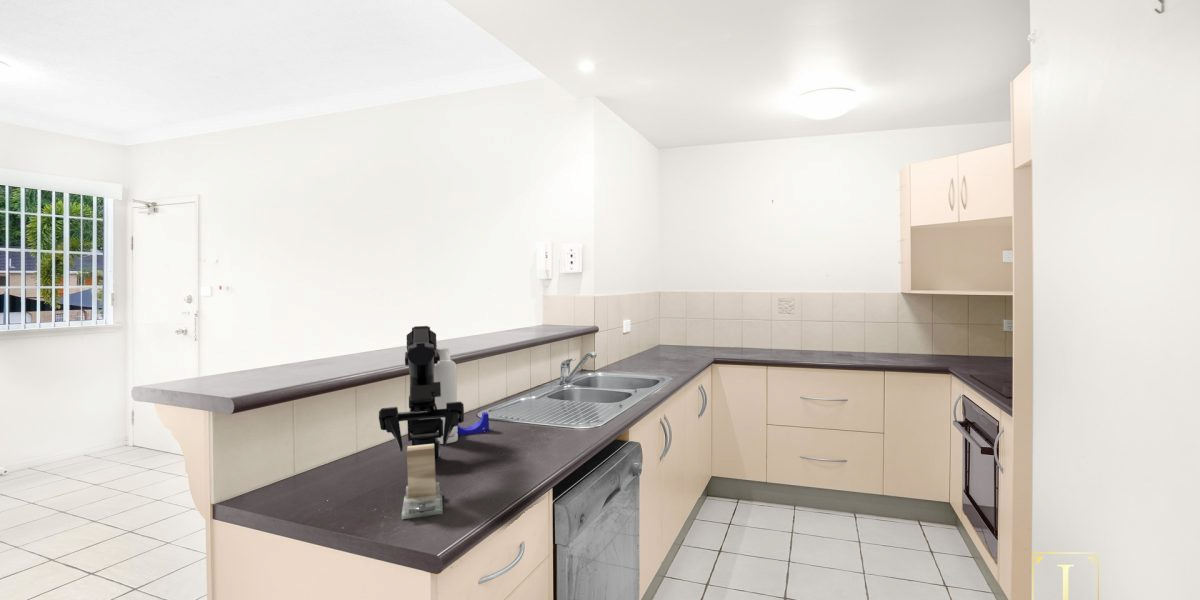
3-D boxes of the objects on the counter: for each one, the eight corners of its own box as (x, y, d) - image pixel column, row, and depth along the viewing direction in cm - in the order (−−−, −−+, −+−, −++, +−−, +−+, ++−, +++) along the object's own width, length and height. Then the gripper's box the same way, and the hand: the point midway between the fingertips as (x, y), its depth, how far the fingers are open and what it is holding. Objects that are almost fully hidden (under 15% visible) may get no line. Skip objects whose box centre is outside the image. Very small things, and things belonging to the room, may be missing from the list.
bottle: (437, 436, 173) (435, 347, 173) (462, 437, 172) (460, 347, 172) (425, 443, 165) (423, 350, 165) (451, 444, 164) (449, 349, 164)
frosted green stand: (404, 499, 123) (403, 485, 123) (442, 494, 125) (441, 480, 125) (401, 523, 110) (400, 507, 110) (442, 517, 113) (442, 501, 113)
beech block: (409, 501, 119) (407, 446, 119) (436, 497, 121) (434, 443, 121) (408, 507, 116) (406, 451, 116) (436, 504, 118) (434, 448, 117)
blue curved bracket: (486, 429, 182) (486, 411, 181) (489, 432, 177) (488, 414, 177) (448, 433, 177) (448, 415, 177) (450, 437, 173) (449, 418, 173)
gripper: (377, 373, 126) (374, 434, 116) (462, 367, 131) (466, 425, 121) (382, 400, 134) (379, 459, 124) (461, 393, 139) (465, 450, 129)
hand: (423, 448), depth 125 cm, fingers open, 9 cm apart
